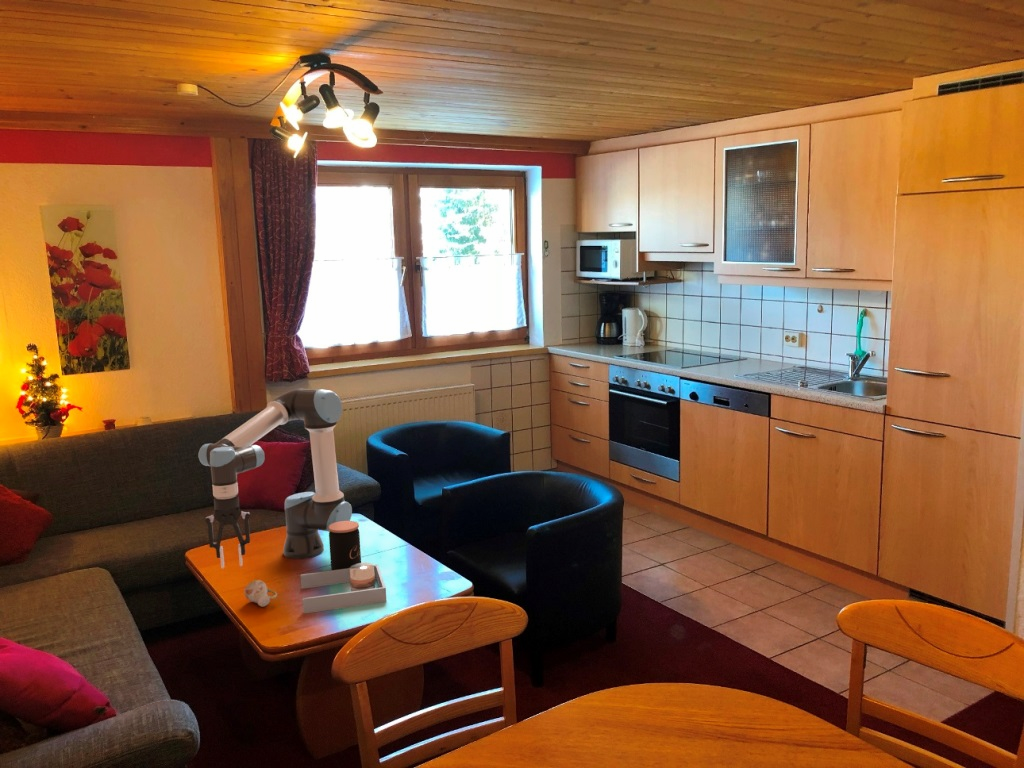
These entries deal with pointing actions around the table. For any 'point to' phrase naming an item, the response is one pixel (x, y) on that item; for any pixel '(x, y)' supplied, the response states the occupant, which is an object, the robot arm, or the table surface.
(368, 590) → the grey u-shaped low frame
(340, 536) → the coffee jar
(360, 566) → the round glass jar
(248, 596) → the mug
